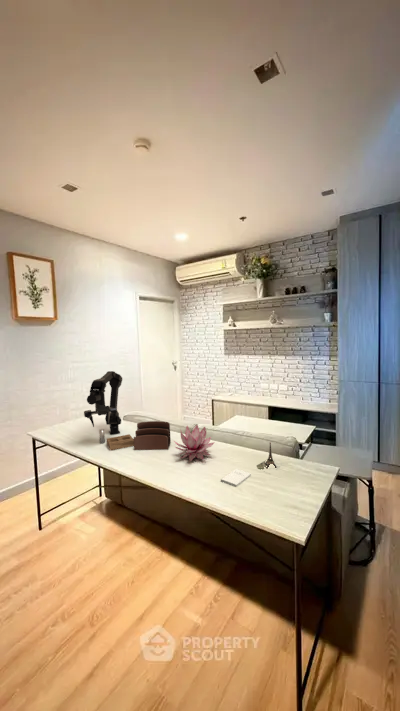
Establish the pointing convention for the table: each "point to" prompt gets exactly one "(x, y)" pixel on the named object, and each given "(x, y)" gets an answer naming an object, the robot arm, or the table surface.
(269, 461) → the eiffel tower figurine
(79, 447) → the table surface
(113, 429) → the robot arm
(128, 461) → the table surface
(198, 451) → the decorative flower
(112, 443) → the block
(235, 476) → the external hard drive
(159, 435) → the letter holder
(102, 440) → the pin
